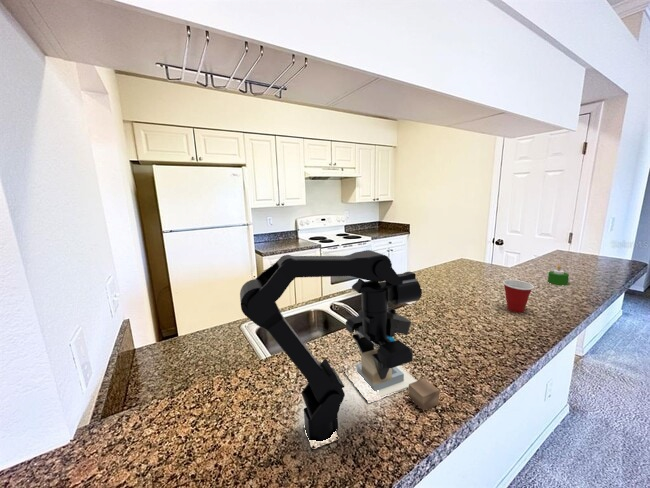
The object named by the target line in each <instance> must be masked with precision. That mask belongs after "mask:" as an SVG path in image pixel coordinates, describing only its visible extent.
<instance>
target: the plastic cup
mask: <svg viewBox="0 0 650 488" xmlns="http://www.w3.org/2000/svg"><path fill="white" fill-rule="evenodd" d="M502 283H503V285H504V286H503V287H504V294H505V299H506V300H505V301H506V307H507V309H508V311H510V312H513V313H524V311H525V310H526V305H527V303H528V300H529V299H530V298H529V297H530V294H531V293H532V290H533V289H534V288H535V286H534V285H533V284H531V283H530V282H527V281H523V280H519V279H505V280H502Z"/></svg>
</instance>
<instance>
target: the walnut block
mask: <svg viewBox="0 0 650 488" xmlns="http://www.w3.org/2000/svg"><path fill="white" fill-rule="evenodd" d="M409 397H410V398H411V399H412V400H413V401H414V402H415V403H416V404H417V405H418V406H419V407H420V408H421V409H422V410H425V411H427V410H429V409H431V408H434V407H436V406H438V405H439V403H440V402H439V400H440V390H439V389H438V388H437V387H435V386H434V385H433V384H432V383H431V382H429V381H428V380H427V379H426V378H422V379H418V380H417V381H416V382H413V383H411V384H409V389H408V398H409ZM410 398H409V399H410ZM411 399H410V400H411ZM412 400H411V401H412ZM413 401H412V402H413ZM414 402H413V403H414ZM415 403H414V404H415ZM416 404H415V405H416ZM417 405H416V406H417ZM418 406H417V407H418ZM419 407H418V408H419ZM420 408H419V409H420ZM421 409H420V410H421ZM426 409H427V410H426ZM422 410H421V411H422Z"/></svg>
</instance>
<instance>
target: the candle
mask: <svg viewBox="0 0 650 488" xmlns="http://www.w3.org/2000/svg"><path fill="white" fill-rule="evenodd" d="M569 277H570V274H569V273H567V272H565V271H564V270H562V266H561V265H560V264H558V265H557V269H553V270H551V271H548V275H547V283H548V282H549V283H548V284H550V283H551V284H550V285H555V286H562V285H564V286H568V284H569Z"/></svg>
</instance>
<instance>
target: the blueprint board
mask: <svg viewBox="0 0 650 488" xmlns="http://www.w3.org/2000/svg"><path fill="white" fill-rule="evenodd" d="M356 366H357V372H358V373H359V374H360V375H361V376H362V377H363V378H364V380H365V381H366V382H367V383H368V384H369V385H370V386H371V388H372V389H373V390H374V391H376V392H377V390H379V395H380V397H382V396H385V395H388V394H391V393H394V392H398V391H400V390H404V389H407V388H409V384H411V383H413V382H416V381H418V380H417V379H416V378H415V377H413V376H412V374H410V373H409V372H408V371H407V370H405V368H403V367H402V365H400V366H397V367H394V368H392V379H391V380H388V381H385V382H383V383H380V384H377V385H374V386H373V385H372V384H371V383H370V382H369V381H368V379H367V378H366V377H365V376H364V375H363V374H362V367H361V362H360V363H358V364H356ZM378 397H379V396H378Z"/></svg>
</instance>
